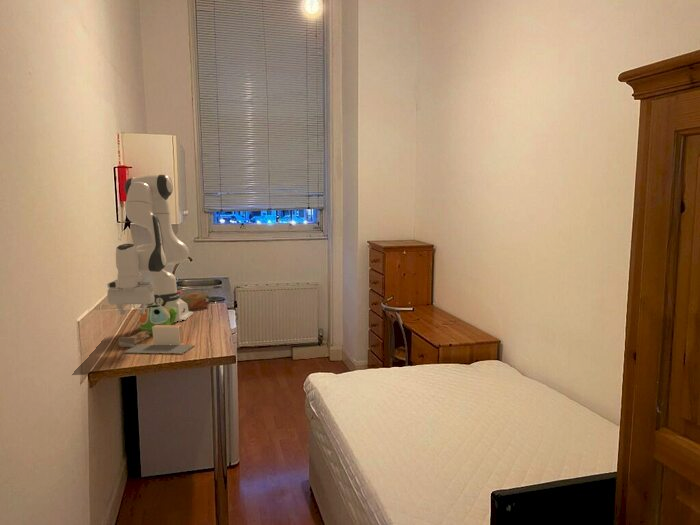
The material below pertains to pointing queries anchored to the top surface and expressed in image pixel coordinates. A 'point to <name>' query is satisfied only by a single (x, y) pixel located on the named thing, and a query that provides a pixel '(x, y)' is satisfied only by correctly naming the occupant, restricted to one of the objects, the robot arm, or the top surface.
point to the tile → (167, 334)
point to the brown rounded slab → (196, 300)
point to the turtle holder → (156, 317)
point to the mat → (158, 349)
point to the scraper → (133, 339)
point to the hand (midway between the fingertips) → (132, 314)
